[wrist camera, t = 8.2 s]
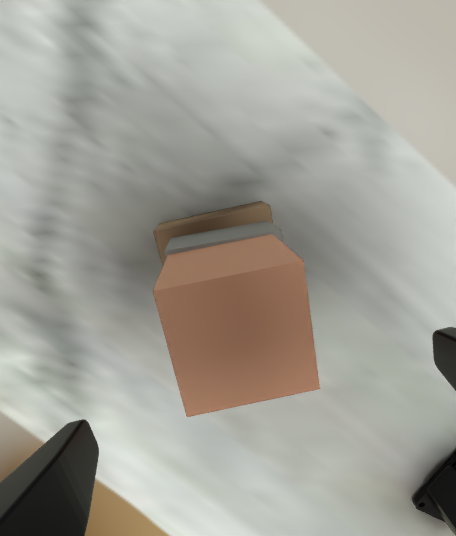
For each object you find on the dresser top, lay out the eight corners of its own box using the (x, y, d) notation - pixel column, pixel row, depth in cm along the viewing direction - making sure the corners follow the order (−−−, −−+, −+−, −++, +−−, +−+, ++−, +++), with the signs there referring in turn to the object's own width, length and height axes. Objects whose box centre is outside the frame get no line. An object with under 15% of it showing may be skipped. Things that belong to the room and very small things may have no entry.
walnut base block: (259, 200, 20) (269, 205, 17) (276, 293, 21) (288, 312, 18) (160, 222, 20) (153, 231, 17) (185, 314, 21) (182, 336, 18)
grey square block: (267, 220, 17) (281, 229, 14) (279, 309, 18) (294, 335, 15) (170, 237, 17) (164, 251, 14) (190, 326, 18) (188, 355, 15)
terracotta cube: (272, 234, 14) (303, 260, 10) (286, 328, 15) (319, 388, 11) (167, 254, 14) (152, 291, 10) (190, 348, 15) (187, 417, 11)
